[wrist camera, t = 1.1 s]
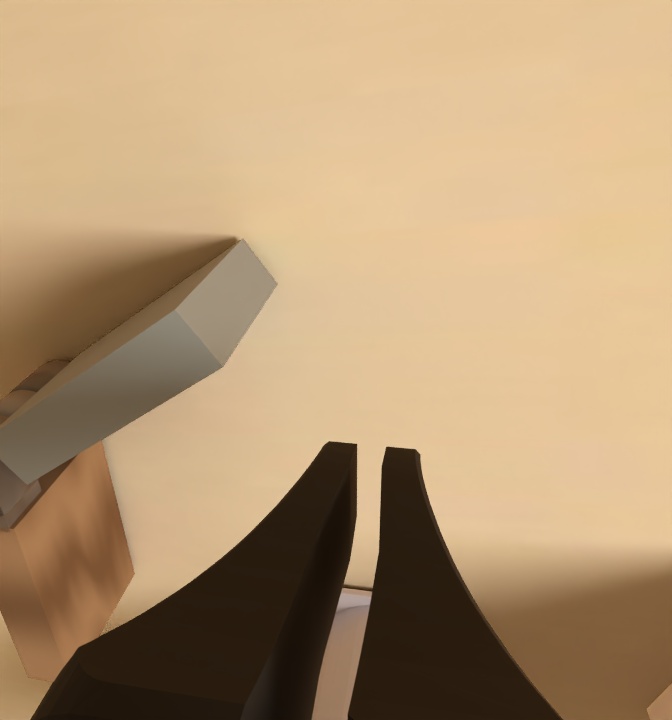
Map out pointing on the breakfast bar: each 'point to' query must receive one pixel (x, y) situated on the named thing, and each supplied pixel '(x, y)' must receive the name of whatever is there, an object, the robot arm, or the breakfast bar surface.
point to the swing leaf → (136, 365)
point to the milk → (662, 706)
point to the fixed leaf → (59, 553)
